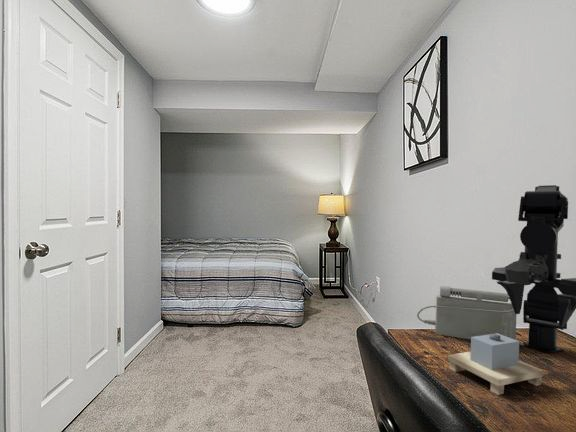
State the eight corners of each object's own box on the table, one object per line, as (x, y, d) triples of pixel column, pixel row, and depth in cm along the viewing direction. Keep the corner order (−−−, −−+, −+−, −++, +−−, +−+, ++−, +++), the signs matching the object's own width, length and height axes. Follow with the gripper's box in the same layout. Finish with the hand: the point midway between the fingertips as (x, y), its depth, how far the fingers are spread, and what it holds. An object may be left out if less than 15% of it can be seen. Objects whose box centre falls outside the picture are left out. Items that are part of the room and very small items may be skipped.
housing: (491, 370, 69) (492, 341, 69) (470, 360, 74) (471, 333, 74) (518, 364, 72) (519, 337, 72) (496, 355, 77) (497, 329, 77)
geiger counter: (515, 291, 94) (418, 281, 105) (519, 296, 88) (417, 285, 99) (513, 341, 94) (417, 327, 105) (518, 349, 88) (415, 333, 99)
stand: (489, 360, 81) (489, 348, 81) (543, 384, 70) (543, 370, 70) (448, 368, 76) (448, 355, 76) (498, 395, 65) (498, 380, 65)
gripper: (476, 244, 80) (473, 311, 80) (565, 254, 62) (562, 339, 63) (509, 244, 84) (507, 307, 84) (601, 253, 66) (598, 333, 67)
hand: (538, 319), depth 74 cm, fingers open, 9 cm apart
